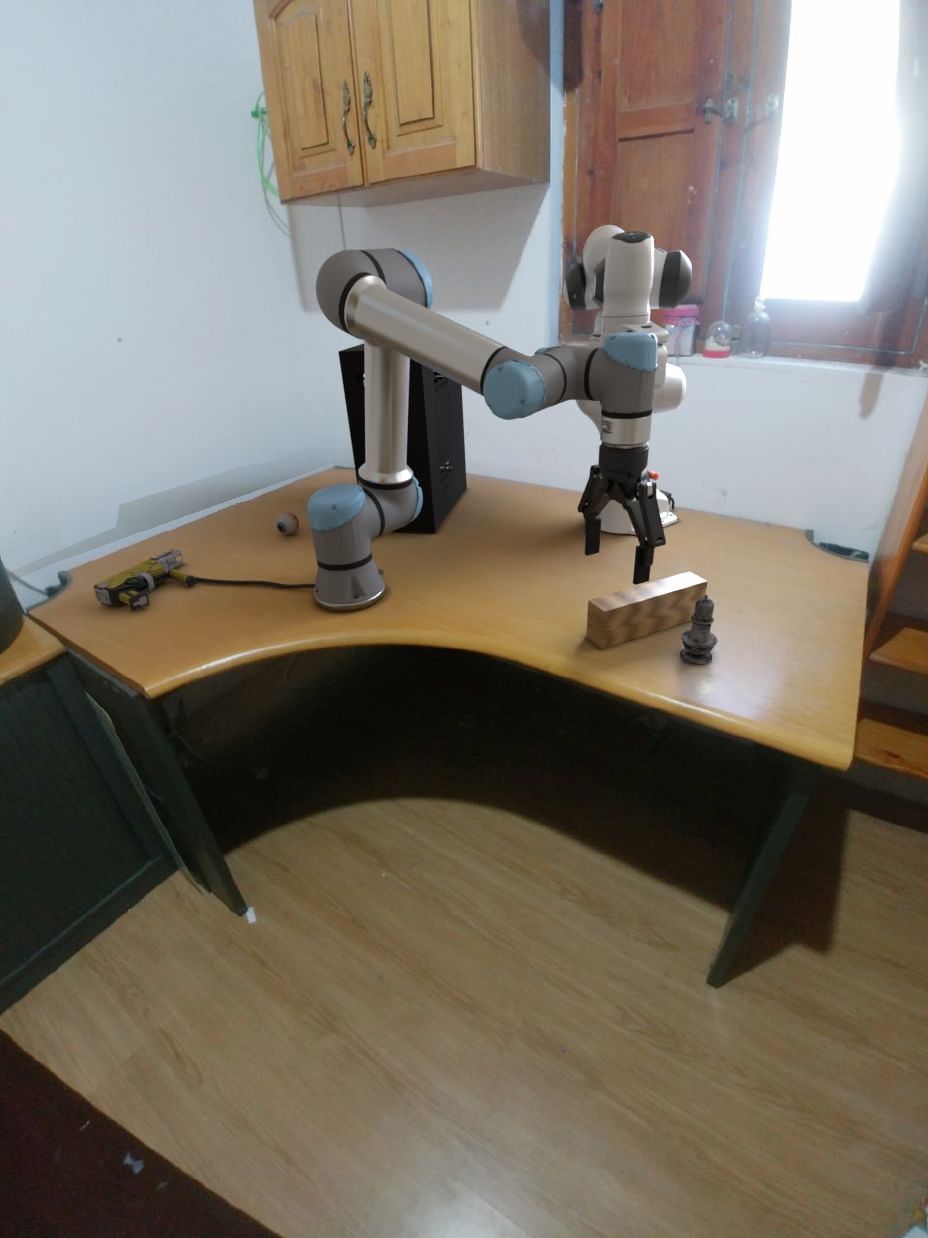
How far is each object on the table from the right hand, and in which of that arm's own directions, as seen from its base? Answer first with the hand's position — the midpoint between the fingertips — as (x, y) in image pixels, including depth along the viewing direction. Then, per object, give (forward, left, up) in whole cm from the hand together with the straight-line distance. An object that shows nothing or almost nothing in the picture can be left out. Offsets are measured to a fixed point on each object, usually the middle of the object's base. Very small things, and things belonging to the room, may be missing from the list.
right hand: (619, 408), depth 121 cm
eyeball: (+62, -60, -35) cm, 92 cm away
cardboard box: (+23, -60, -35) cm, 73 cm away
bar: (+11, +26, -35) cm, 45 cm away
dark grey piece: (+9, +38, -35) cm, 53 cm away
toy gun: (+94, -42, -35) cm, 109 cm away
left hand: (+19, +26, -20) cm, 38 cm away
